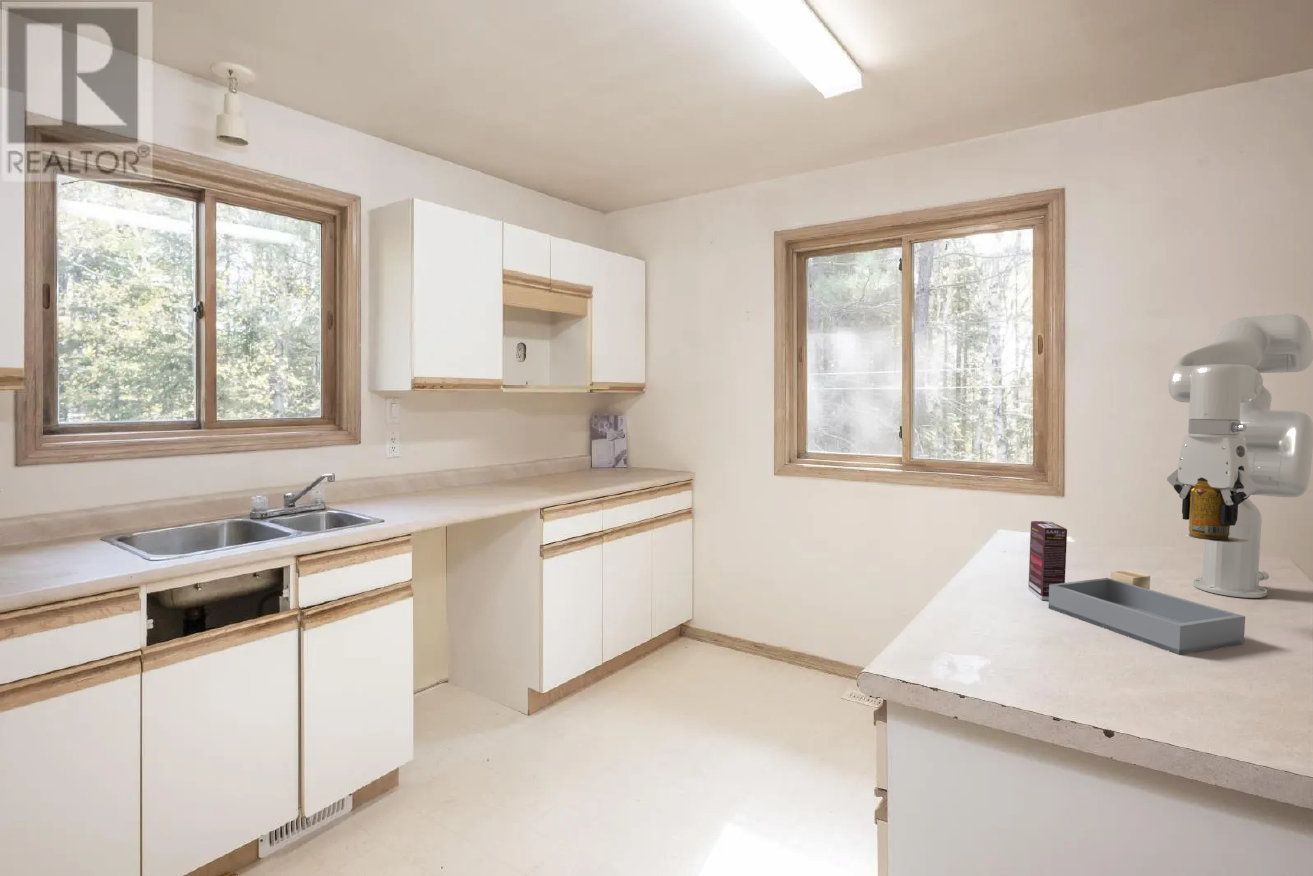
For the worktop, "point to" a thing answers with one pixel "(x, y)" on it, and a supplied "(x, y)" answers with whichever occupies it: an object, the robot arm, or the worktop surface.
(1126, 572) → the cube
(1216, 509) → the condiment
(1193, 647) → the tote
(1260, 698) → the worktop surface
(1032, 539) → the supplement box
